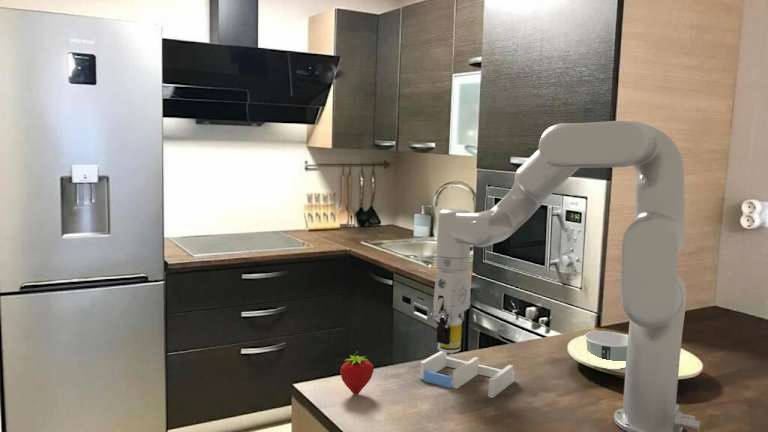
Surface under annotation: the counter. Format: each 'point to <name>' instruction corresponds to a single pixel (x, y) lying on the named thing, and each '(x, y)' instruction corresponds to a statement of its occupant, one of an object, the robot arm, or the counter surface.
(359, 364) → the strawberry
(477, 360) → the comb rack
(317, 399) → the counter surface
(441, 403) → the counter surface
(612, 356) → the food container
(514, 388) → the counter surface
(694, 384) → the counter surface
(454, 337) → the supplement bottle
